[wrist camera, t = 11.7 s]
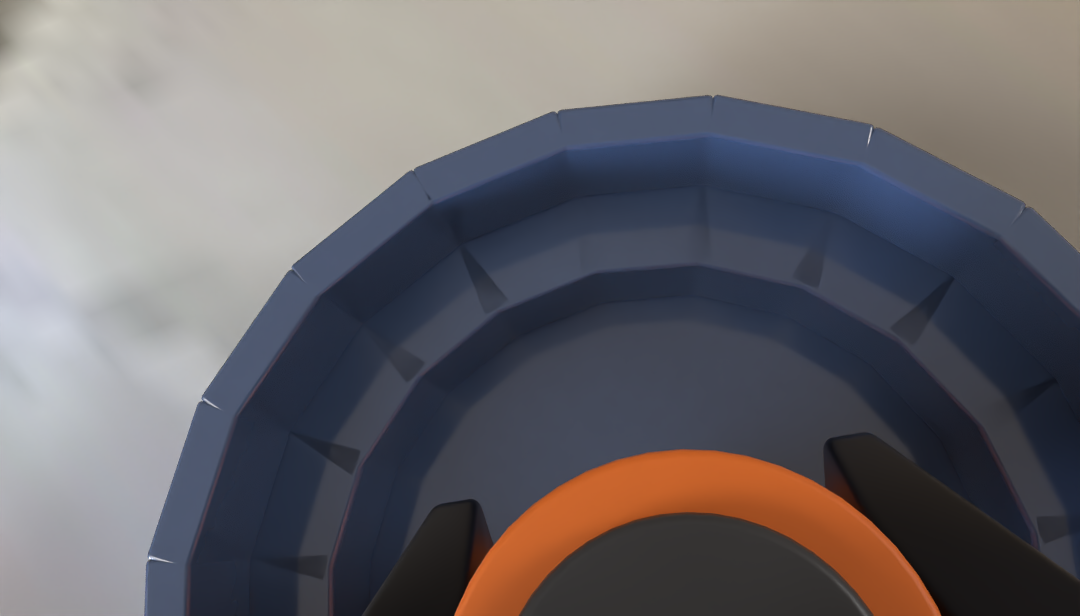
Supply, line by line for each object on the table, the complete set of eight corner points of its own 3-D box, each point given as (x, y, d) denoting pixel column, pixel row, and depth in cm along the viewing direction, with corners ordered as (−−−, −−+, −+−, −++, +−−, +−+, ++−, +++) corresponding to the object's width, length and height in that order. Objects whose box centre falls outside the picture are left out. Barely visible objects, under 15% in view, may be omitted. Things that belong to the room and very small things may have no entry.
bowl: (622, 1276, 14) (607, 1625, 9) (134, 534, 17) (-47, 536, 13) (1302, 668, 14) (1581, 727, 10) (709, 65, 18) (726, -87, 13)
